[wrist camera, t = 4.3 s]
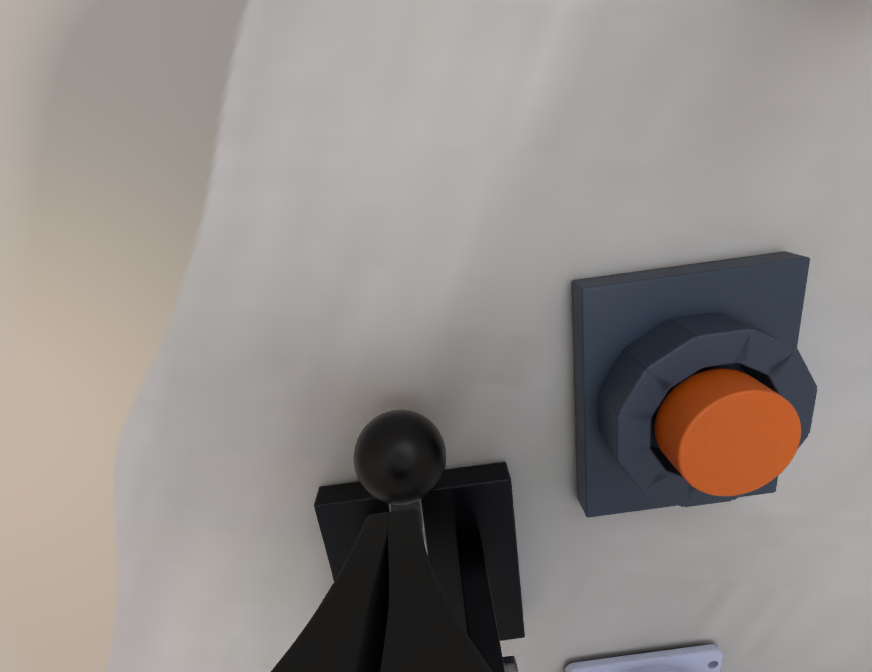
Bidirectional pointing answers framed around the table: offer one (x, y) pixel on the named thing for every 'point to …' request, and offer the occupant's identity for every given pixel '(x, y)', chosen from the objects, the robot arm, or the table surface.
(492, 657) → the switch bracket
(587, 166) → the table surface
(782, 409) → the button
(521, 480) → the table surface
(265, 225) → the table surface
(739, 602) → the table surface
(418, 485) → the switch lever
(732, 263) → the button box
